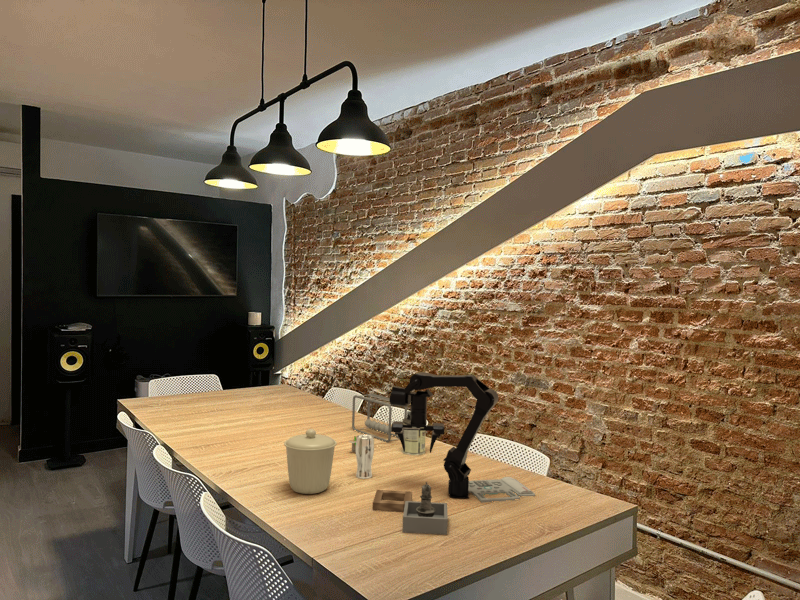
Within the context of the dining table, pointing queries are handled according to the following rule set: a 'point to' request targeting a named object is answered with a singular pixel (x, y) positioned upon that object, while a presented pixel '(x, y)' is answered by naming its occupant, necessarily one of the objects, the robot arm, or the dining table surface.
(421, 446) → the coffee can
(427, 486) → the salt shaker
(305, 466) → the canister
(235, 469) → the dining table surface
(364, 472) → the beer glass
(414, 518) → the bin
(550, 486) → the dining table surface
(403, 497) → the socket block
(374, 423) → the newton's cradle
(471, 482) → the grey cutout plate
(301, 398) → the dining table surface
